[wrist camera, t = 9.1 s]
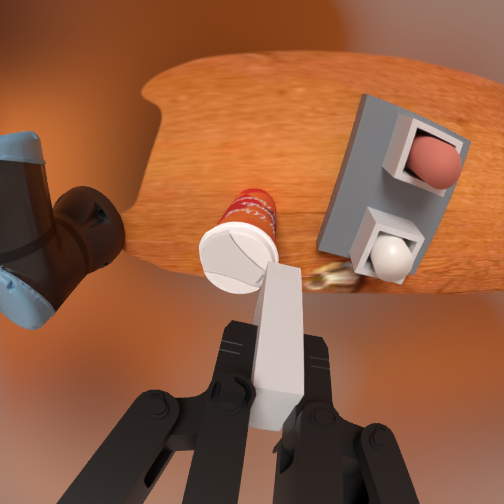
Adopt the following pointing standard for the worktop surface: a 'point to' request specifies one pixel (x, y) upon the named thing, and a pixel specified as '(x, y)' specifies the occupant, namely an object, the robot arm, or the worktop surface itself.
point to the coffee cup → (241, 243)
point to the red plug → (434, 161)
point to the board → (384, 187)
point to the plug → (391, 257)
